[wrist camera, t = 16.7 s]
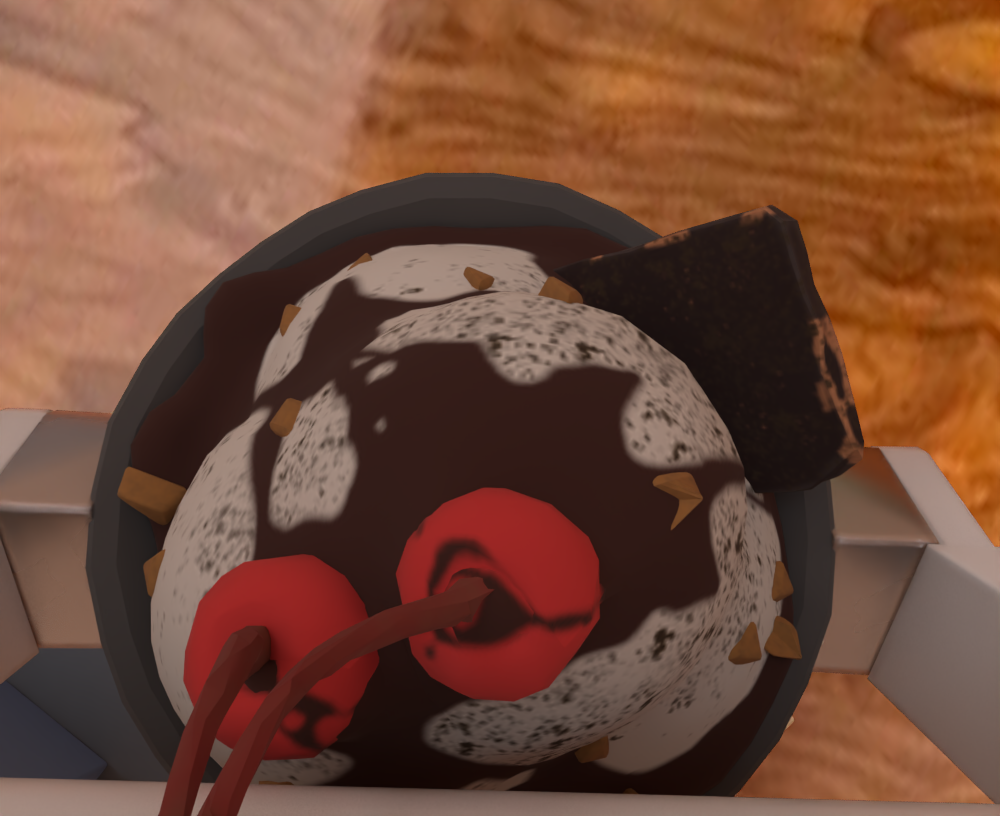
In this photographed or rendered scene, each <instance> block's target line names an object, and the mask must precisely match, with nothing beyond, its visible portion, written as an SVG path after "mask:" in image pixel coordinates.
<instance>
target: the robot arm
mask: <svg viewBox="0 0 1000 816" xmlns="http://www.w3.org/2000/svg"><path fill="white" fill-rule="evenodd" d="M111 416H112V414H110V413H94V412H79V411H63V410H56V411H52V410H47V409H23V408H7V409H3V410H0V684H1V683H3V682H4V681H5V680H6V679H8V678H9V677H10V676H11V675H12V674H14V673H15V672H16V671H17V670H18V669H20V668H21V667H22V666H23V665H25V664H26V663H27V662H28V661H29V660H31V659H32V658H33V657H34V656H36V655H37V654H38V653H39V649H38V648H102V645H101V642H100V637H99V632H98V627H97V622H96V617H95V613H94V608H93V603H92V598H91V593H90V588H89V584H88V579H87V574H86V569H85V567H86V553H87V540H88V526H89V522H91V521H92V516H93V505H94V502H93V501H92V500H91V491H92V487H93V482H94V478H95V474H96V470H97V466H98V462H99V457H100V453H101V449H102V445H103V441H104V436H105V432H106V428H107V424H108V421H109V419H110V417H111ZM830 481H831V491H832V502H833V512H834V523H835V528H834V529H833V530H832V531H831V533H832V548H833V549H834V551H835V552H836V556H835V571H834V587H833V603H832V616H831V618H830V621H829V624H828V627H827V630H826V633H825V636H824V639H823V641H822V644H821V647H820V650H819V653H818V656H817V659H816V662H815V665H814V667H813V670H812V672H824V673H841V674H858V675H869V677H868V680H869V681H870V682H871V683H872V684H873V685H874V686H875V687H876V688H877V689H879V690H880V691H881V692H882V693H883V694H884V695H885V696H886V697H887V698H888V699H889V700H890V701H891V702H892V703H893V704H894V705H895V706H896V707H897V708H898V709H899V710H900V711H901V712H902V713H903V714H904V715H905V716H906V717H907V718H908V719H909V720H910V721H911V722H912V723H913V724H914V725H915V726H916V727H917V728H918V729H919V730H920V731H921V732H922V733H923V734H924V735H925V736H926V737H927V738H928V739H929V740H931V741H932V742H933V743H934V744H935V745H936V746H937V747H938V748H939V749H940V750H941V751H942V752H943V753H944V754H945V755H946V756H947V757H948V758H949V759H950V760H951V761H952V762H953V763H954V764H955V765H956V766H957V767H958V768H959V769H960V770H961V771H962V772H963V773H964V774H965V775H966V776H967V777H968V778H969V779H970V780H971V781H972V782H973V783H974V784H975V785H976V786H977V787H978V788H979V789H980V790H982V791H983V792H984V793H985V794H986V795H987V796H988V797H989V798H990V799H991V800H992V801H993V802H994V803H995V804H978V803H940V802H902V801H865V800H828V799H792V798H755V797H718V796H681V795H645V794H608V793H571V792H533V791H495V790H458V789H420V788H382V787H344V786H307V785H269V784H250V785H249V787H248V789H247V792H246V794H245V797H244V799H243V802H242V804H241V807H240V810H239V812H238V815H237V816H1000V547H994V545H993V544H992V542H991V541H990V540H989V538H988V537H987V535H986V534H985V533H984V531H983V530H982V528H981V527H980V525H979V524H978V523H977V521H976V520H975V518H974V517H973V516H972V514H971V513H970V511H969V510H968V509H967V507H966V506H965V504H964V503H963V502H962V500H961V499H960V497H959V496H958V494H957V493H956V492H955V490H954V489H953V487H952V486H951V485H950V483H949V482H948V480H947V479H946V478H945V476H944V475H943V473H942V472H941V471H940V469H939V468H938V466H937V465H936V463H935V462H934V461H933V459H932V458H931V456H930V455H929V454H928V453H927V452H926V451H924V450H922V449H920V448H918V447H883V446H871V447H864V448H863V459H862V460H861V461H859V462H858V463H857V464H855V465H854V466H853V467H851V468H850V469H849V470H847V471H846V472H844V473H843V474H842V475H840V476H839V477H836V478H833V479H830ZM166 785H167V782H156V781H118V780H81V779H43V778H5V777H0V816H158V814H159V812H160V808H161V804H162V800H163V797H164V793H165V789H166ZM213 785H214V783H201V784H200V787H199V790H198V793H197V797H196V800H195V804H194V807H193V811H192V814H191V816H197V815H198V813H199V811H200V809H201V807H202V805H203V804H204V802H205V800H206V798H207V796H208V794H209V792H210V791H211V789H212V787H213Z"/></svg>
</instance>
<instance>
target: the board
mask: <svg viewBox="0 0 1000 816" xmlns="http://www.w3.org/2000/svg"><path fill="white" fill-rule="evenodd" d="M113 412H114V411H113ZM113 412H111V413H110V414H113ZM38 649H39V653H38V654H37V655H36V656H34V657H33V658H32V659H31V660H29V661H28V662H27V663H26V664H25V665H23V666H22V667H21V668H20V669H18V670H17V671H16V672H15V673H14V674H12V675H11V676H10V677H9V678H8V679H6V681H7V682H8V683H9V684H11V685H12V686H13V687H14V688H16V689H17V690H18V691H19V692H20V693H22V694H23V695H24V696H25V697H27V698H28V699H29V700H30V701H32V702H33V703H34V704H35V705H36V706H38V707H39V708H40V709H41V710H43V711H44V712H45V713H46V714H48V715H49V716H50V717H51V718H52V719H54V720H55V721H56V722H57V723H59V724H60V725H61V726H62V727H64V728H65V729H66V730H67V731H68V732H70V733H71V734H72V735H73V736H75V737H76V738H77V739H78V740H80V741H81V742H82V743H83V744H84V745H86V746H87V747H88V748H89V749H91V750H92V751H93V752H94V753H96V754H97V755H98V756H99V757H100V758H102V759H103V760H104V761H105V762H106V763H107V766H106V768H105V769H104V771H103V772H102V773H101V775H100V776H99V777H98V778H97V780H118V781H156V782H168V778H169V774H168V773H167V772H166V770H165V769H164V768H163V766H162V765H161V764H160V763H159V761H158V760H157V759H156V758H155V756H154V754H153V753H152V751H151V749H150V748H149V746H148V744H147V743H146V741H145V740H144V738H143V736H142V735H141V733H140V731H139V730H138V728H137V726H136V725H135V723H134V722H133V720H132V718H131V717H130V715H129V713H128V712H127V710H126V708H125V707H124V705H123V704H122V701H121V698H120V696H119V693H118V690H117V687H116V684H115V681H114V679H113V676H112V673H111V670H110V667H109V665H108V662H107V659H106V656H105V653H104V650H103V648H38ZM793 722H794V718H793V716H791V718H790V720H789V722H788V724H787V726H786V728H788V727H789V726H790V725H791V724H792V723H793ZM786 728H785V729H786Z"/></svg>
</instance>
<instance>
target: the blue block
mask: <svg viewBox="0 0 1000 816" xmlns="http://www.w3.org/2000/svg"><path fill="white" fill-rule="evenodd" d="M106 766H107V763H106V762H105V761H104V760H103V759H102V758H100V757H99V756H98V755H97V754H96V753H94V752H93V751H92V750H91V749H89V748H88V747H87V746H86V745H84V744H83V743H82V742H81V741H80V740H78V739H77V738H76V737H75V736H73V735H72V734H71V733H70V732H68V731H67V730H66V729H65V728H64V727H62V726H61V725H60V724H59V723H57V722H56V721H55V720H54V719H52V718H51V717H50V716H49V715H48V714H46V713H45V712H44V711H43V710H41V709H40V708H39V707H38V706H36V705H35V704H34V703H33V702H32V701H30V700H29V699H28V698H27V697H25V696H24V695H23V694H22V693H20V692H19V691H18V690H17V689H16V688H14V687H13V686H12V685H11V684H9V683H8V682H7V681H6V680H5V681H4V682H3V683H1V684H0V777H5V778H43V779H81V780H97V778H98V777H99V776H100V775H101V773H102V772H103V771H104V769H105V768H106Z"/></svg>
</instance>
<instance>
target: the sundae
mask: <svg viewBox="0 0 1000 816" xmlns="http://www.w3.org/2000/svg"><path fill="white" fill-rule="evenodd" d="M863 448H864V440H863V436H862V432H861V428H860V424H859V420H858V415H857V411H856V407H855V403H854V399H853V395H852V391H851V387H850V383H849V379H848V375H847V371H846V367H845V363H844V359H843V355H842V352H841V349H840V346H839V343H838V340H837V338H836V335H835V332H834V329H833V326H832V323H831V320H830V318H829V316H828V313H827V311H826V309H825V307H824V305H823V303H822V300H821V298H820V296H819V294H818V292H817V290H816V287H815V285H814V281H813V277H812V272H811V268H810V263H809V259H808V254H807V251H806V247H805V244H804V241H803V238H802V234H801V231H800V228H799V225H798V221H797V220H795V219H793V218H792V217H790V216H789V215H787V214H786V213H784V212H783V211H781V210H779V209H778V208H776V207H775V206H773V205H769V206H765V207H762V208H758V209H754V210H751V211H747V212H744V213H740V214H736V215H733V216H729V217H726V218H722V219H719V220H715V221H712V222H709V223H705V224H702V225H698V226H695V227H691V228H688V229H685V230H681V231H678V232H675V233H672V234H670V235H667V236H664V237H662V236H660V235H659V234H657V233H655V232H654V231H652V230H650V229H649V228H647V227H645V226H644V225H642V224H641V223H639V222H637V221H636V220H634V219H632V218H631V217H629V216H627V215H626V214H624V213H622V212H621V211H619V210H617V209H615V208H612V207H610V206H608V205H606V204H603V203H601V202H599V201H597V200H594V199H592V198H590V197H588V196H585V195H583V194H581V193H579V192H576V191H574V190H572V189H570V188H568V187H565V186H563V185H561V184H558V183H552V182H545V181H539V180H533V179H527V178H520V177H514V176H508V175H502V174H495V173H424V174H420V175H417V176H413V177H409V178H405V179H402V180H398V181H394V182H390V183H386V184H383V185H379V186H375V187H371V188H368V189H364V190H360V191H358V192H356V193H353V194H351V195H348V196H346V197H343V198H341V199H338V200H336V201H334V202H331V203H329V204H326V205H324V206H321V207H319V208H316V209H314V210H311V211H309V212H307V213H306V214H304V215H303V216H301V217H300V218H298V219H297V220H295V221H293V222H292V223H290V224H289V225H287V226H286V227H284V228H282V229H281V230H279V231H278V232H276V233H275V234H273V235H271V236H270V237H268V238H267V239H265V240H264V241H262V242H261V243H259V244H258V245H257V246H255V247H254V248H253V249H252V250H250V251H249V252H248V253H246V254H245V255H244V256H242V257H241V258H240V259H239V260H237V261H236V262H235V263H233V264H232V265H231V266H229V267H228V268H227V269H226V270H224V271H223V272H222V273H220V274H219V275H218V276H217V277H216V278H215V279H214V280H213V281H211V282H210V283H209V284H208V285H207V286H206V287H205V288H204V289H203V290H202V291H201V292H199V293H198V294H197V295H196V296H195V297H194V298H193V299H192V300H191V301H190V302H189V303H188V304H186V305H185V306H184V307H183V308H182V309H181V310H180V311H179V312H178V313H177V314H176V315H175V317H174V318H173V319H172V321H171V322H170V323H169V325H168V326H167V327H166V329H165V330H164V331H163V333H162V334H161V335H160V337H159V338H158V339H157V341H156V342H155V344H154V345H153V346H152V348H151V349H150V350H149V352H148V353H147V354H146V356H145V357H144V358H143V360H142V362H141V363H140V365H139V367H138V369H137V371H136V372H135V374H134V376H133V378H132V380H131V381H130V383H129V385H128V387H127V389H126V390H125V392H124V394H123V396H122V398H121V399H120V401H119V403H118V405H117V407H116V408H115V410H114V412H113V414H112V416H111V417H110V419H109V421H108V424H107V428H106V432H105V436H104V441H103V445H102V449H101V453H100V457H99V462H98V466H97V470H96V474H95V478H94V482H93V487H92V491H91V500H92V501H93V502H94V505H93V516H92V521H91V522H89V526H88V540H87V553H86V567H85V569H86V574H87V579H88V584H89V588H90V593H91V598H92V603H93V608H94V613H95V617H96V622H97V627H98V632H99V637H100V642H101V645H102V648H103V650H104V653H105V656H106V659H107V662H108V665H109V667H110V670H111V673H112V676H113V679H114V681H115V684H116V687H117V690H118V693H119V696H120V698H121V701H122V704H123V705H124V707H125V708H126V710H127V712H128V713H129V715H130V717H131V718H132V720H133V722H134V723H135V725H136V726H137V728H138V730H139V731H140V733H141V735H142V736H143V738H144V740H145V741H146V743H147V744H148V746H149V748H150V749H151V751H152V753H153V754H154V756H155V758H156V759H157V760H158V761H159V763H160V764H161V765H162V766H163V768H164V769H165V770H166V772H167V773H168V774H169V778H168V782H167V785H166V789H165V793H164V797H163V800H162V804H161V808H160V812H159V814H158V816H191V814H192V811H193V807H194V804H195V800H196V797H197V793H198V790H199V787H200V784H201V783H214V785H213V787H212V789H211V791H210V792H209V794H208V796H207V798H206V800H205V802H204V804H203V805H202V807H201V809H200V811H199V813H198V815H197V816H237V815H238V812H239V810H240V807H241V804H242V802H243V799H244V797H245V794H246V792H247V789H248V787H249V785H250V784H269V785H307V786H344V787H382V788H420V789H458V790H495V791H533V792H571V793H608V794H645V795H681V796H718V797H734V796H735V795H736V794H737V793H738V792H739V791H740V790H741V788H742V787H743V786H744V785H745V783H746V782H747V781H748V780H749V778H750V777H751V776H752V774H753V773H754V772H755V771H756V769H757V768H758V767H759V766H760V764H761V763H762V762H763V760H764V759H765V758H766V757H767V755H768V754H769V753H770V752H771V750H772V749H773V748H774V747H775V745H776V744H777V743H778V741H779V740H780V738H781V736H782V734H783V732H784V730H785V728H786V726H787V724H788V722H789V720H790V718H791V716H792V714H793V712H794V710H795V708H796V706H797V704H798V703H799V701H800V699H801V697H802V695H803V693H804V691H805V689H806V687H807V685H808V682H809V679H810V676H811V673H812V670H813V667H814V665H815V662H816V659H817V656H818V653H819V650H820V647H821V644H822V641H823V639H824V636H825V633H826V630H827V627H828V624H829V621H830V618H831V616H832V603H833V587H834V571H835V556H836V552H835V551H834V549H833V548H832V533H831V531H832V530H833V529H834V528H835V523H834V512H833V502H832V491H831V481H830V479H833V478H836V477H839V476H840V475H842V474H843V473H844V472H846V471H847V470H849V469H850V468H851V467H853V466H854V465H855V464H857V463H858V462H859V461H861V460H862V459H863Z"/></svg>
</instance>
